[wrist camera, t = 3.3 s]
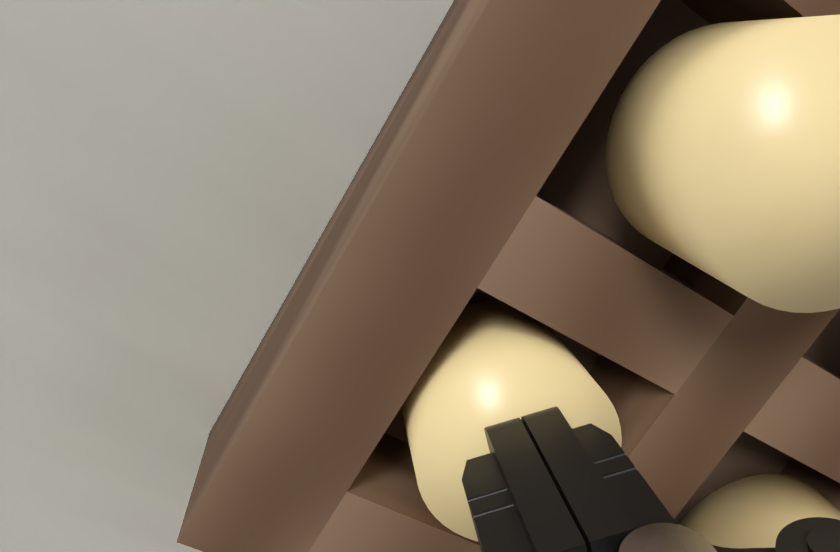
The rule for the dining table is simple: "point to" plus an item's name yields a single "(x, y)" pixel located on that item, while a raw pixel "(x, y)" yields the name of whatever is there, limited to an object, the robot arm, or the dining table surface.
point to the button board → (510, 296)
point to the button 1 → (490, 398)
